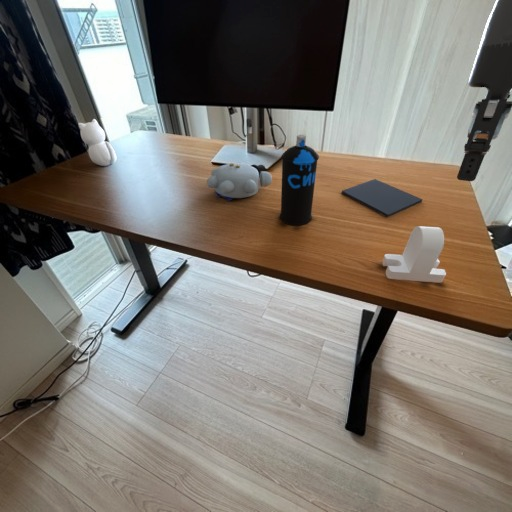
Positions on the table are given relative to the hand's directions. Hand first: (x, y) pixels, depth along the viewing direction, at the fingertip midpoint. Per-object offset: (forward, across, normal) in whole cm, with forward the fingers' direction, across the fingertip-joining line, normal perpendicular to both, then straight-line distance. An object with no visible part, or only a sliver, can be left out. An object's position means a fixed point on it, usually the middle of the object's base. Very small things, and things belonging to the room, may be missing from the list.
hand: (468, 172), depth 42 cm
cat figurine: (+9, -8, +111) cm, 112 cm away
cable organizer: (+20, -2, +3) cm, 20 cm away
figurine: (+14, +6, +54) cm, 56 cm away
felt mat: (+16, +24, +18) cm, 34 cm away
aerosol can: (+16, +2, +32) cm, 36 cm away
